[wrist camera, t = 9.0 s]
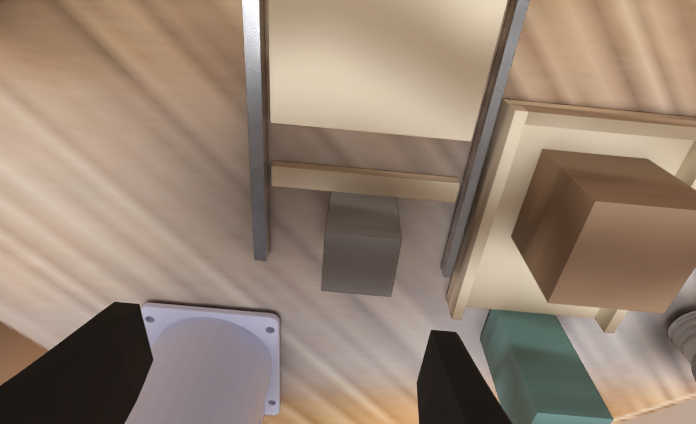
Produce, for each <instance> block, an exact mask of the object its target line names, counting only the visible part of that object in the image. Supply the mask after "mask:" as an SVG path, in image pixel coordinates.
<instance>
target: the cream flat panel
mask: <svg viewBox="0 0 696 424" xmlns="http://www.w3.org/2000/svg"><path fill="white" fill-rule="evenodd" d="M268 4H269V60H270V117H271V123H280V124H291V125H301V126H312V127H323V128H333V129H344V130H355V131H365V132H376V133H387V134H398V135H408V136H419V137H430V138H440V139H451V140H462V141H471V140H472V136H473V132H474V128H475V124H476V121H477V117H478V113H479V109H480V105H481V101H482V97H483V93H484V90H485V86H486V82H487V78H488V74H489V70H490V66H491V62H492V58H493V55H494V51H495V47H496V43H497V39H498V35H499V31H500V27H501V23H502V20H503V16H504V12H505V8H506V4H507V0H268ZM271 173H272V186H278V187H289V188H300V189H311V190H322V191H331V197H330V203H329V209H328V216H327V222H326V228H325V238H324V254H323V269H322V285H321V291H329V292H340V293H351V294H362V295H374V296H385V297H391V295H392V290H393V285H394V279H395V274H396V269H397V263H398V258H399V253H400V247H401V242H402V236H401V229H400V222H399V214H398V207H397V200H396V197H398V198H409V199H420V200H431V201H442V202H453V203H455V202H456V198H457V194H458V190H459V187H460V182H459V180H458V178H456V177H446V176H435V175H424V174H413V173H402V172H392V171H381V170H370V169H359V168H348V167H337V166H327V165H316V164H305V163H294V162H283V161H274V162H273V164H272V166H271Z"/></svg>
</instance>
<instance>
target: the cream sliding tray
mask: <svg viewBox="0 0 696 424" xmlns="http://www.w3.org/2000/svg"><path fill="white" fill-rule="evenodd" d="M542 149H549V150H560V151H570V152H581V153H592V154H603V155H613V156H624V157H635V158H645V159H649V160H650V161H652V162H654V163H655V164H657V165H658V166H660V167H661V168H663V169H664V170H666V171H667V172H669V173H670V174H672V175H673V176H675V177H677V178H678V179H680V180H681V181H683V182H684V183H686V184H687V185H689V186H690V187H692V188H693V189H695V190H696V117H687V116H676V115H666V114H655V113H645V112H634V111H623V110H613V109H602V108H592V107H581V106H571V105H560V104H550V103H539V102H528V101H518V100H507V99H503V100H502V104H501V107H500V111H499V114H498V118H497V121H496V125H495V128H494V132H493V135H492V139H491V142H490V146H489V149H488V153H487V156H486V160H485V164H484V167H483V171H482V174H481V178H480V181H479V185H478V188H477V192H476V195H475V199H474V202H473V206H472V209H471V213H470V216H469V220H468V223H467V227H466V230H465V234H464V237H463V241H462V244H461V248H460V251H459V255H458V258H457V262H456V265H455V269H454V272H453V276H452V280H451V283H450V287H449V290H448V294H447V297H446V298H447V302H448V306H449V310H450V314H451V318H452V319H457V320H461V319H462V316H463V313H464V310H465V307H473V308H484V309H491V311H490V313H489V316H488V319H487V321H486V324H485V327H484V330H483V332H482V335H481V338H480V341H481V344H482V347H483V350H484V353H485V356H486V360H487V363H488V366H489V369H490V372H491V375H492V379H493V382H494V385H495V388H496V391H497V395H498V398H499V401H500V404H501V407H502V408H503V410H504V411H505V413H506V414H507V416H508V417H509V419H510V420H511V422H512V423H513V424H611V422H612V421H613V420H614V419H613V417H612V415H611V414H610V412H609V410H608V408H607V406H606V405H605V403H604V401H603V399H602V397H601V396H600V394H599V392H598V390H597V389H596V387H595V385H594V383H593V381H592V380H591V378H590V376H589V374H588V372H587V371H586V369H585V367H584V365H583V363H582V362H581V360H580V358H579V356H578V355H577V353H576V351H575V349H574V347H573V346H572V344H571V342H570V340H569V338H568V337H567V335H566V333H565V331H564V329H563V328H562V326H561V324H560V322H559V320H558V319H557V317H556V315H563V316H574V317H586V318H595V320H596V321H597V323H598V324H599V326H600V327H601V329H602V330H603V332H604V333H614V332H615V330H616V328H617V327H618V325H619V324H620V322H621V320H622V319H623V317H624V315H625V314H626V312H627V311H628V310H619V309H608V308H597V307H585V306H574V305H563V304H552V303H547V301H546V299H545V297H544V295H543V294H542V292H541V290H540V288H539V286H538V285H537V283H536V281H535V279H534V277H533V276H532V274H531V272H530V270H529V268H528V267H527V265H526V263H525V261H524V259H523V258H522V256H521V254H520V252H519V250H518V249H517V247H516V245H515V243H514V241H513V240H512V238H511V235H512V232H513V229H514V226H515V224H516V221H517V218H518V215H519V212H520V210H521V207H522V204H523V201H524V198H525V196H526V193H527V190H528V187H529V185H530V182H531V179H532V176H533V173H534V171H535V168H536V165H537V162H538V159H539V157H540V154H541V151H542Z"/></svg>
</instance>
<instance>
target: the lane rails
mask: <svg viewBox="0 0 696 424" xmlns="http://www.w3.org/2000/svg"><path fill="white" fill-rule="evenodd" d="M529 1H530V0H510V4H509V8H508V12H507V16H506V20H505V23H504V27H503V31H502V35H501V39H500V43H499V46H498V50H497V54H496V58H495V62H494V66H493V69H492V73H491V77H490V81H489V85H488V88H487V92H486V96H485V100H484V104H483V108H482V111H481V115H480V119H479V123H478V127H477V131H476V134H475V138H474V142H473V146H472V150H471V154H470V157H469V161H468V165H467V169H466V173H465V177H464V180H463V184H462V188H461V192H460V196H459V200H458V203H457V207H456V211H455V215H454V219H453V223H452V226H451V230H450V234H449V238H448V242H447V246H446V249H445V253H444V257H443V261H442V265H441V269H442V273H443V277H450V278H451V276H452V273H453V269H454V266H455V262H456V259H457V255H458V252H459V248H460V245H461V241H462V238H463V234H464V231H465V227H466V224H467V220H468V216H469V213H470V209H471V206H472V202H473V199H474V195H475V192H476V188H477V185H478V181H479V178H480V174H481V171H482V167H483V163H484V160H485V156H486V153H487V149H488V146H489V142H490V139H491V135H492V132H493V128H494V125H495V121H496V118H497V114H498V110H499V107H500V103H501V100H502V96H503V93H504V89H505V86H506V82H507V79H508V75H509V72H510V68H511V65H512V61H513V57H514V54H515V50H516V47H517V43H518V40H519V36H520V33H521V29H522V26H523V22H524V19H525V15H526V12H527V8H528V4H529ZM242 7H243V28H244V48H245V69H246V90H247V111H248V132H249V153H250V174H251V194H252V215H253V236H254V257H255V260H261V261H267V258H268V255H269V252H270V246H269V203H268V159H267V116H266V73H265V29H264V0H242Z"/></svg>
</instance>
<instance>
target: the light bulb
mask: <svg viewBox="0 0 696 424" xmlns="http://www.w3.org/2000/svg"><path fill="white" fill-rule="evenodd" d="M668 336H669V338H670V339H671V340H672V342H674V344H675V345H676V346H677V347H678V348H679V350H680V351H681V352H682V353H683V354H684V355H685V357H686V358H687V360H688V361H689V362H690V364H691V366H692V373H693V376H694V379H695V381H696V311H692V312H689V313H686V314H684V315H682V316H680V317H679V318H677V319H676V320H675V321H674V322H673V323H672V324H671V325H670V327H669V329H668Z"/></svg>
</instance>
